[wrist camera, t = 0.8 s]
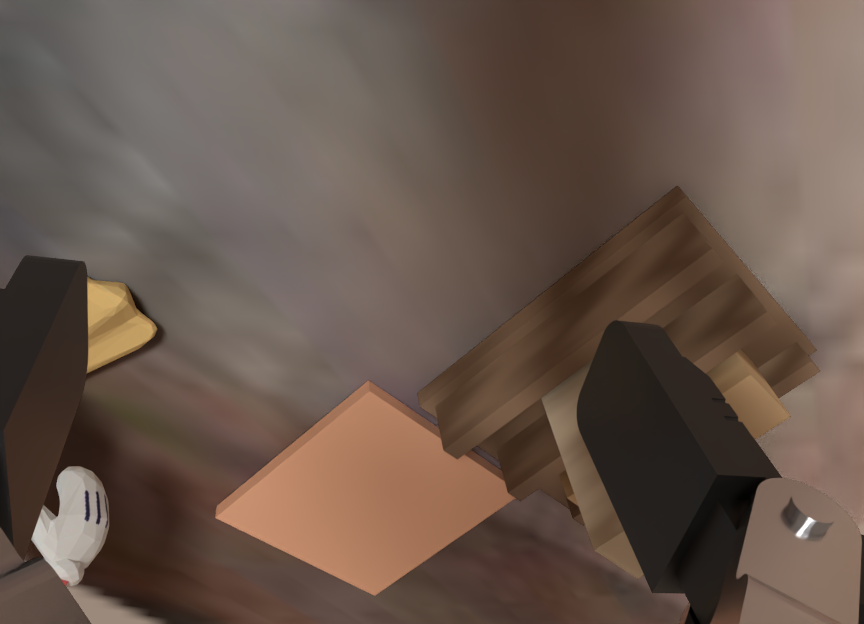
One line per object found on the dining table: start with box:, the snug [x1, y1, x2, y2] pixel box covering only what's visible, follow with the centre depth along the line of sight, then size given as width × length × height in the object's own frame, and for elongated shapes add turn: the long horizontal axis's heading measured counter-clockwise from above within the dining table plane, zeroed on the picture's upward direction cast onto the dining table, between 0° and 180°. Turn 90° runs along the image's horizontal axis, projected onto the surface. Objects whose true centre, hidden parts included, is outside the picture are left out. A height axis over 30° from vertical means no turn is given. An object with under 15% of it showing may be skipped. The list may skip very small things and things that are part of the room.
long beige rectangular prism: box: [541, 360, 644, 579], centre depth 34 cm, size 5×3×11 cm, turn 133°
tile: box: [215, 380, 515, 596], centre depth 44 cm, size 12×12×1 cm
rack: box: [418, 186, 820, 526], centre depth 39 cm, size 16×13×4 cm
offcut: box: [706, 349, 791, 439], centre depth 38 cm, size 4×4×4 cm
